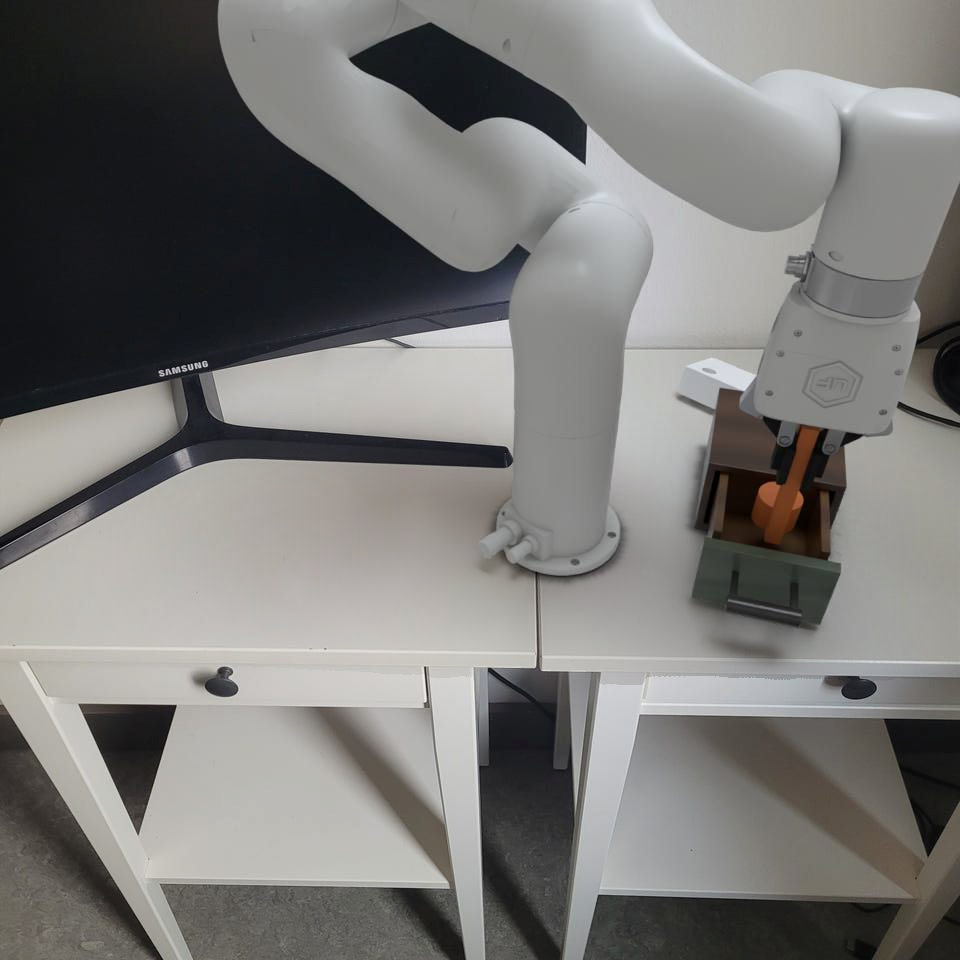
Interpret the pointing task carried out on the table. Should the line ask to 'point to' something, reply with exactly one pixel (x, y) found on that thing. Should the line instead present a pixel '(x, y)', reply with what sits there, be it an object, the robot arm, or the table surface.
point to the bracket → (712, 380)
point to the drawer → (766, 558)
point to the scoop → (785, 492)
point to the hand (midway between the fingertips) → (793, 476)
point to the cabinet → (752, 455)
